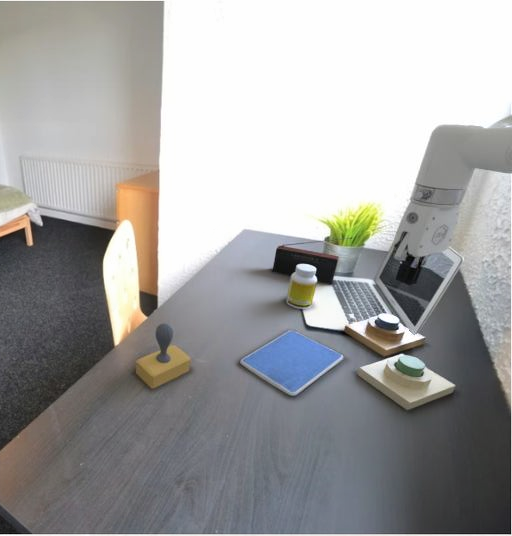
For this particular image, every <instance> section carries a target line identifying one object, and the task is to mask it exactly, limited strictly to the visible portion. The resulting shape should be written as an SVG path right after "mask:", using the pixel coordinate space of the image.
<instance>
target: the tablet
mask: <svg viewBox="0 0 512 536" xmlns="http://www.w3.org/2000/svg"><path fill="white" fill-rule="evenodd" d="M343 360H344V356H343V354H341V353H339V352H337V351H335V350H333V349H331V348H329V347H327V346H325V345H323V344H321V343H319V342H317V341H316V340H314V339H312V338H310V337H307V336H305V335H303V334H301V333H299V332H297V331H295V330H293V329H292V330H290V329H289V330H288V331H285V332H284V333H283V334H281V335H279V336H278V337H276V338H274V339H273V340H272V341H270V342H268V343H266V344H265V345H263V346H261V347H260V348H258V349H256V350H254V351H253V352H252V353H250V354H248V355H246V356H244V357H243V358H241V359H240V365H242V366H243V367H244V368H246V369H247V370H249V371H250V372H252V374H254V375H256V376H257V377H259V378H261V379H262V380H264V381H265V382H267V383H269V384H270V385H271V386H273V387H275V388H276V389H279V390H280V391H282V392H283V393H285V394H287V395H289V396H290V397H291V396H292V397H295V396H298V394H300V393H301V392H303V390H305V389H306V388H308V387H309V386H310V385H311V384H312V383H314V382H315V381H317V380H318V379H319V378H321V377H322V376H324V374H326V373H327V372H329V371H330V370H331V369H333V368H334V367H335V366H336V365H338V364H339V363H340V362H342V361H343Z"/></svg>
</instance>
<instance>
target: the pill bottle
mask: <svg viewBox="0 0 512 536" xmlns="http://www.w3.org/2000/svg"><path fill="white" fill-rule="evenodd" d="M295 271H296V272H294V273H293V274H292V275H291V276H290V278H289V284H288V289H287V293H286V294H287V295H286V301H285V302H286V304H287V305H288V306H290V307H292V308H295V309H299V310H307V309H310V308H311V307H312V304H313V301H314V296H315V293H316V288H317V283H318V282H317V278H316V276H315V274H316V268H315V267H314V266H312V265H308V264H298V265H297V266H296V270H295Z"/></svg>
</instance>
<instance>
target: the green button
mask: <svg viewBox="0 0 512 536" xmlns="http://www.w3.org/2000/svg"><path fill="white" fill-rule="evenodd" d="M425 367H426V365H425V362H423V361H422V360H421V359H419V358H418V357H415V356H413V355H407V354H404V355H402V356H400V357H399V359H398V361H397V364H396V368H397V370H398V371H400V372H401V373H403V374H405V375H408V376H411V377H420V376H421V375H422V373H423V370H424V368H425Z"/></svg>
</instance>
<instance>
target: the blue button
mask: <svg viewBox="0 0 512 536" xmlns="http://www.w3.org/2000/svg"><path fill="white" fill-rule="evenodd" d="M377 316H378V318H377V321H376V325H377V326H379V327H380V328H383V329H386V330H393V331H395V330H396V329H397V327H398V325H399V323H401V320H400V319H399V317H397V316H395V315H393V314H390V313H384V312H383V313H379V314H378V315H377Z"/></svg>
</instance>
